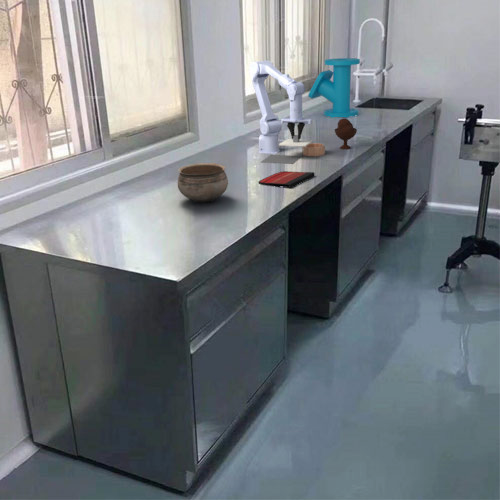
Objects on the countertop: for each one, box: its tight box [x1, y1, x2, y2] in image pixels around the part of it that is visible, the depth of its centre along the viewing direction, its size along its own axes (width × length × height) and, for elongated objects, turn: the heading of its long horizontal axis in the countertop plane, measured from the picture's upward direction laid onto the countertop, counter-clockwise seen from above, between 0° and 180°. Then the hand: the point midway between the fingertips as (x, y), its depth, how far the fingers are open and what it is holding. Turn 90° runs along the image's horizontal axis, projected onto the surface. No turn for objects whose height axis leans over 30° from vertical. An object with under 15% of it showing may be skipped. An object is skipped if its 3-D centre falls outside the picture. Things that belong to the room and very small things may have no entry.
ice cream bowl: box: [334, 117, 358, 150], centre depth 292 cm, size 11×11×15 cm
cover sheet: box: [279, 134, 314, 147], centre depth 276 cm, size 13×13×4 cm
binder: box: [258, 170, 315, 190], centre depth 243 cm, size 16×2×21 cm
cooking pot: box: [177, 162, 229, 204], centre depth 219 cm, size 25×19×12 cm
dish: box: [302, 142, 326, 157], centre depth 283 cm, size 10×10×4 cm
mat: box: [260, 154, 303, 165], centre depth 275 cm, size 16×16×1 cm
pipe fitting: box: [308, 57, 361, 118], centre depth 384 cm, size 22×32×35 cm
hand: (296, 138), depth 276 cm, fingers closed on cover sheet, 2 cm apart
